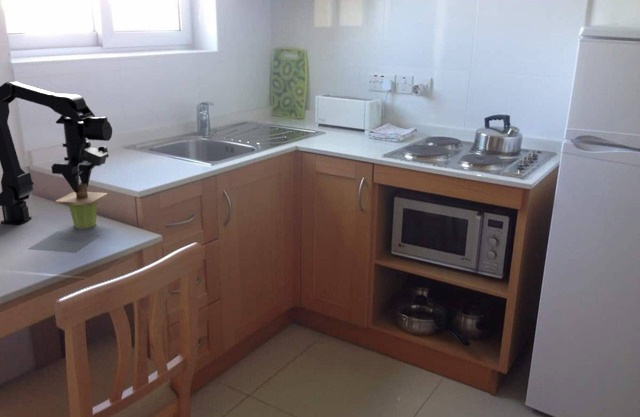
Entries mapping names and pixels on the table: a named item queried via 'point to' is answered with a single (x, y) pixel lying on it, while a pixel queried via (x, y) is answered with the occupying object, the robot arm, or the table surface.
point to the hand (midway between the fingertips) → (81, 190)
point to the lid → (82, 197)
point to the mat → (65, 242)
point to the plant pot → (83, 215)
